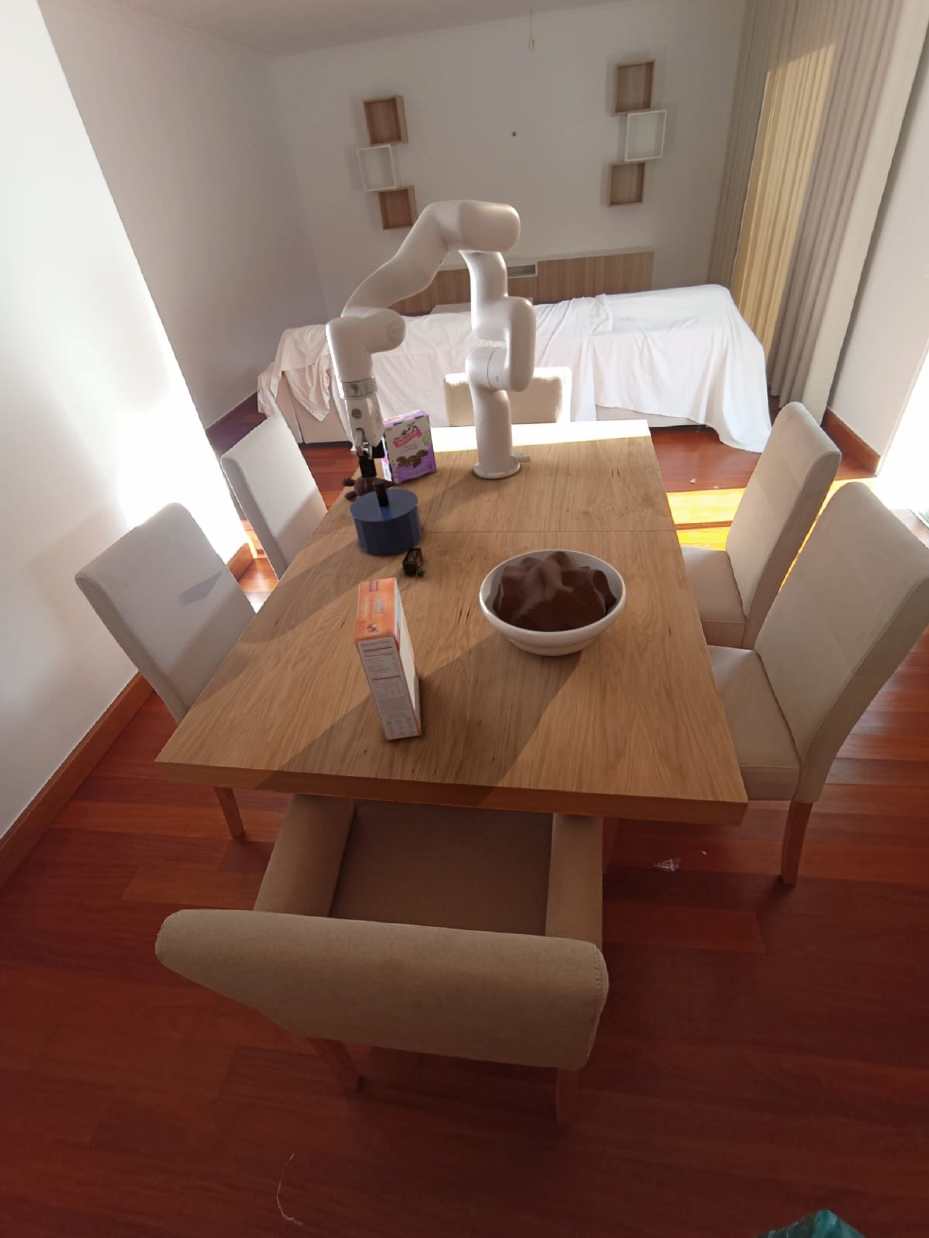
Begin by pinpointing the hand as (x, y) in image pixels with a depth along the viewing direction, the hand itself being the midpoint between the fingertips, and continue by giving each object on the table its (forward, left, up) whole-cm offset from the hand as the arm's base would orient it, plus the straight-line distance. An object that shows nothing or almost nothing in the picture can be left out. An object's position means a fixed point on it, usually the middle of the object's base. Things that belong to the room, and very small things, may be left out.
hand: (374, 467), depth 130 cm
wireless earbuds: (-8, +14, -18) cm, 24 cm away
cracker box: (-11, +54, -18) cm, 58 cm away
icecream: (+9, -22, -18) cm, 30 cm away
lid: (0, 0, -10) cm, 10 cm away
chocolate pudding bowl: (-36, +36, -18) cm, 54 cm away
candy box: (0, -34, -18) cm, 39 cm away
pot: (0, 0, -18) cm, 18 cm away
